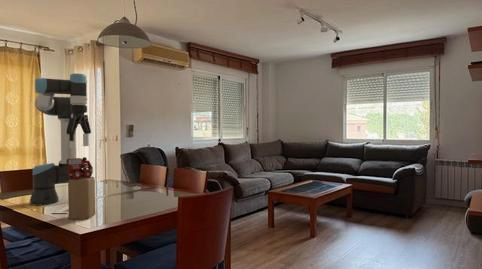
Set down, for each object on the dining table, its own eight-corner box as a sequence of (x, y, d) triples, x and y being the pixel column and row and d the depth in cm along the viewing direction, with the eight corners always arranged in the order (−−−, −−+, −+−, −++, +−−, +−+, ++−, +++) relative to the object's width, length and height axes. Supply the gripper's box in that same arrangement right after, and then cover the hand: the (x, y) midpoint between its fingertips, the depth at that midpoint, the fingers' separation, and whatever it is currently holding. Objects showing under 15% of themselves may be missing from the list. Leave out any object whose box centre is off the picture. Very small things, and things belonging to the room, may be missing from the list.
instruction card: (51, 214, 178) (51, 213, 178) (69, 206, 196) (69, 205, 196) (75, 213, 178) (75, 212, 178) (91, 205, 196) (91, 205, 196)
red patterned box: (95, 177, 172) (95, 157, 172) (70, 180, 163) (69, 158, 163) (89, 176, 177) (89, 156, 177) (64, 178, 168) (64, 158, 168)
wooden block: (76, 214, 176) (75, 176, 175) (96, 214, 176) (95, 176, 176) (68, 220, 166) (67, 179, 165) (89, 219, 166) (88, 179, 166)
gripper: (73, 103, 157) (74, 148, 157) (97, 106, 182) (97, 145, 182) (57, 103, 157) (58, 148, 158) (83, 106, 182) (84, 145, 182)
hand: (79, 147), depth 170 cm, fingers open, 13 cm apart
